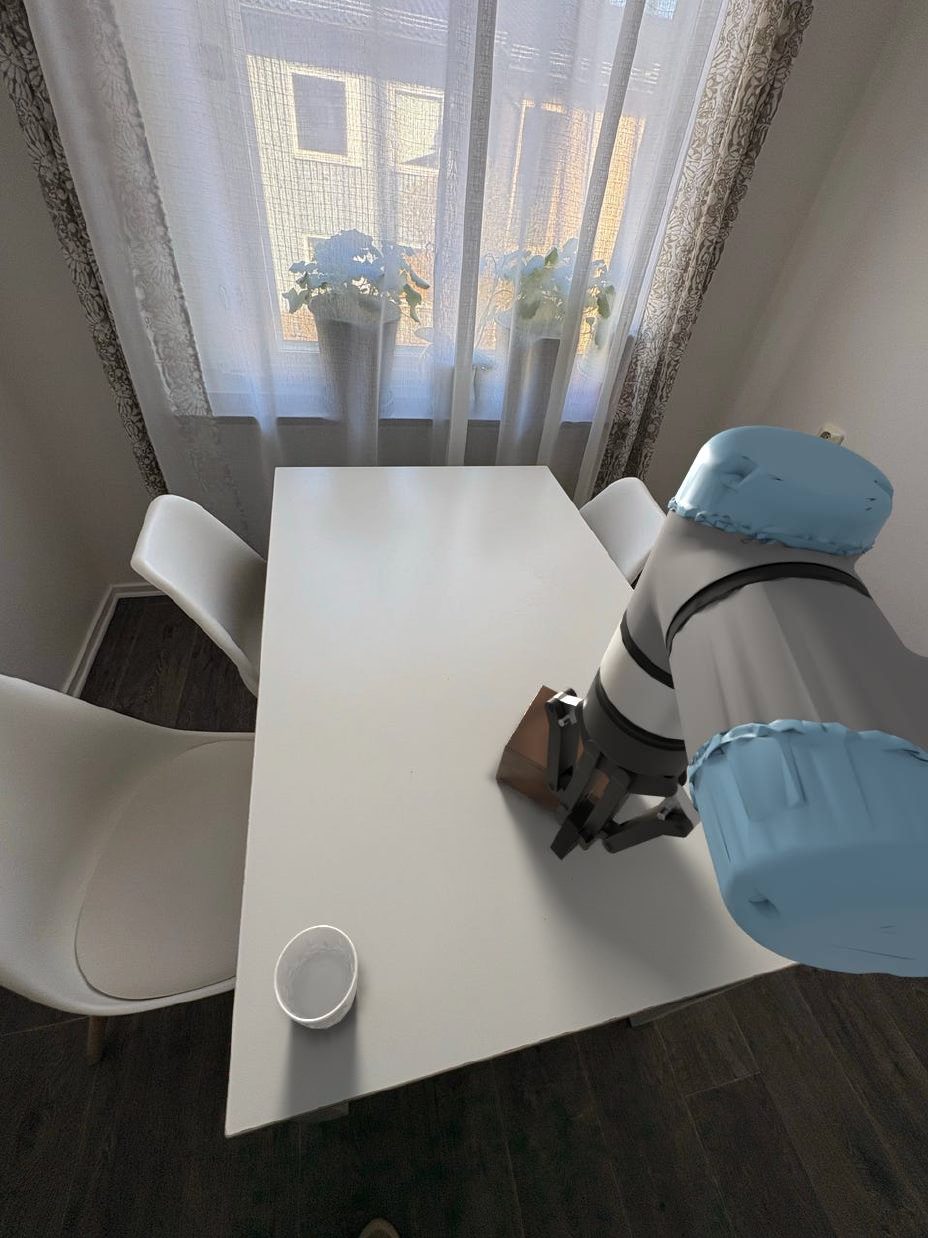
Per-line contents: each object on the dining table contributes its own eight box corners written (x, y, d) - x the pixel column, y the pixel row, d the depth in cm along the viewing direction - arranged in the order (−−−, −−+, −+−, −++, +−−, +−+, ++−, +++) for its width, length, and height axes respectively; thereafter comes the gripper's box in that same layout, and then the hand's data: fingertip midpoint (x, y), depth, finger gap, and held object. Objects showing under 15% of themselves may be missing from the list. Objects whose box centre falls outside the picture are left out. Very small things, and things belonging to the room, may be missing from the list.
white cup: (280, 1036, 54) (263, 1022, 47) (297, 948, 59) (284, 924, 52) (356, 1037, 54) (350, 1023, 47) (366, 950, 60) (362, 926, 53)
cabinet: (614, 763, 81) (634, 730, 74) (586, 831, 72) (606, 802, 66) (530, 718, 85) (542, 684, 79) (495, 778, 77) (504, 745, 70)
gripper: (789, 735, 30) (645, 877, 46) (613, 605, 36) (542, 771, 53) (723, 811, 26) (592, 937, 42) (539, 650, 32) (488, 814, 49)
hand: (565, 844), depth 47 cm, fingers closed
